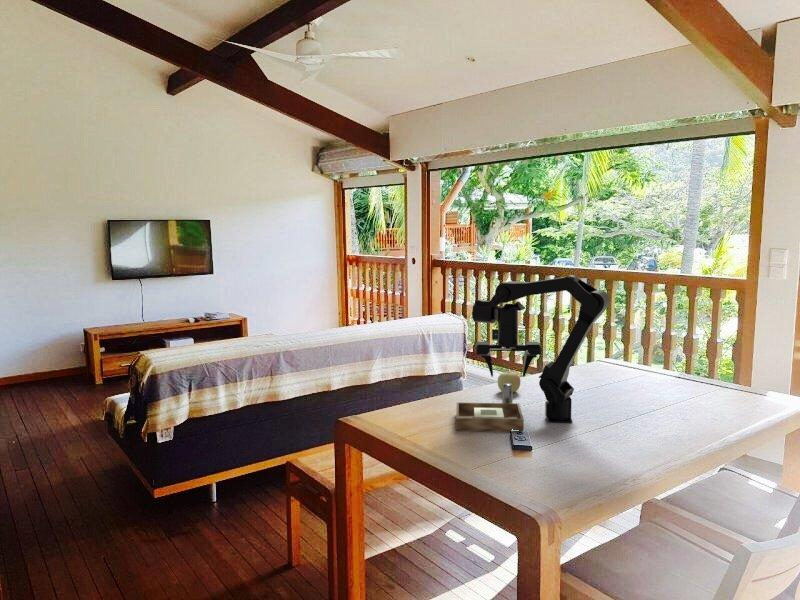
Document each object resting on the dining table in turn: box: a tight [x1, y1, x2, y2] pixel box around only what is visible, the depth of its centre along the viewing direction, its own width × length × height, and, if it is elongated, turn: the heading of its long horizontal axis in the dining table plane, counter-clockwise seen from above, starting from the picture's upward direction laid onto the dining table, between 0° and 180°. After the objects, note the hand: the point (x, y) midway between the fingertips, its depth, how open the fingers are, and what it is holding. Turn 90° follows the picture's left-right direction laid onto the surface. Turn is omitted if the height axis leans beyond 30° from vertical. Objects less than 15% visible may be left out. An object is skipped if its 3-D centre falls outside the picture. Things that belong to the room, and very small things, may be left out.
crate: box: [455, 401, 525, 433], centre depth 167 cm, size 18×14×4 cm
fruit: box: [497, 368, 521, 393], centre depth 196 cm, size 8×7×8 cm
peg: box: [501, 383, 514, 403], centre depth 177 cm, size 3×3×8 cm
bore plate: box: [474, 408, 504, 418], centre depth 167 cm, size 8×8×2 cm
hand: (507, 376), depth 176 cm, fingers open, 9 cm apart
